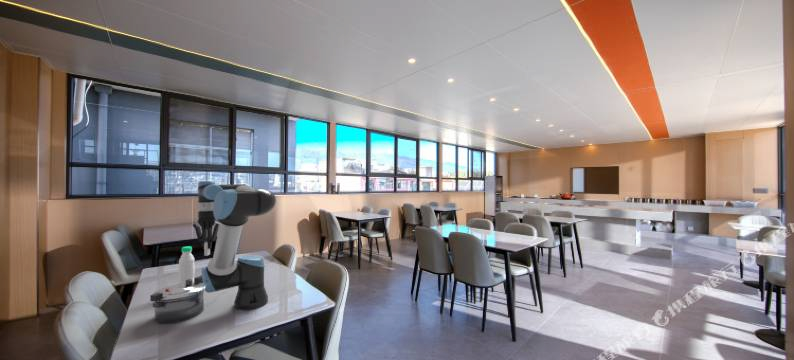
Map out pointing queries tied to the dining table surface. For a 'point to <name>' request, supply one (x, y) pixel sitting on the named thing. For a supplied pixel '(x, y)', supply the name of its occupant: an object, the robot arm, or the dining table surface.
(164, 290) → the lid
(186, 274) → the water bottle
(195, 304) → the pot
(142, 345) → the dining table surface
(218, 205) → the robot arm
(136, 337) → the dining table surface
